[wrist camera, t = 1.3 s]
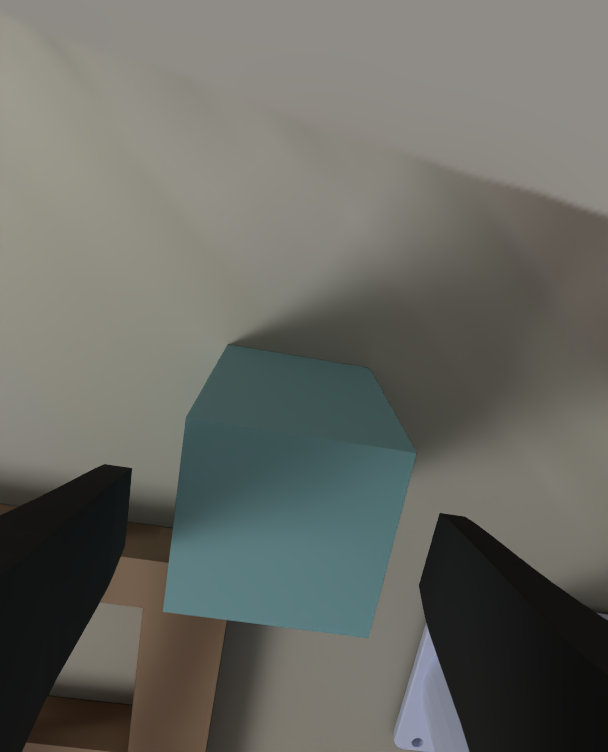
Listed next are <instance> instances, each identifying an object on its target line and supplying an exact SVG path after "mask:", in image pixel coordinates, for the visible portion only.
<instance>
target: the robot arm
mask: <svg viewBox="0 0 608 752" xmlns="http://www.w3.org/2000/svg"><path fill="white" fill-rule="evenodd" d="M131 473H132V468H127V467H120V466H113V465H106V464H104V465H102V466H100V467H97V468H95V469H93V470H91V471H89V472H87V473H85V474H83V475H81V476H80V477H78V478H76V479H74V480H72V481H70V482H68V483H66V484H64V485H62V486H60V487H58V488H56V489H54V490H52V491H50V492H48V493H47V494H45V495H43V496H41V497H39V498H37V499H35V500H32V501H30V502H28V503H26V504H24V505H21V506H19V507H17V508H15V509H13V510H10V511H8V512H6V513H4V514H2V515H0V752H22V751H23V749H24V747H25V744H26V742H27V740H28V738H29V735H30V733H31V731H32V729H33V727H34V724H35V722H36V720H37V718H38V715H39V713H40V711H41V709H42V706H43V704H44V702H45V700H46V698H47V696H48V694H49V692H50V690H51V689H52V687H53V685H54V683H55V681H56V679H57V677H58V675H59V674H60V672H61V670H62V668H63V666H64V665H65V663H66V661H67V659H68V658H69V656H70V654H71V652H72V651H73V649H74V647H75V645H76V644H77V642H78V640H79V638H80V636H81V635H82V633H83V631H84V629H85V628H86V626H87V624H88V622H89V621H90V619H91V617H92V615H93V614H94V612H95V610H96V608H97V606H98V605H99V603H100V601H101V599H102V597H103V596H104V594H105V592H106V590H107V588H108V586H109V584H110V582H111V580H112V577H113V575H114V572H115V570H116V568H117V565H118V563H119V560H120V557H121V555H122V552H123V550H124V547H125V541H126V530H127V519H128V507H129V496H130V485H131ZM419 588H420V593H421V599H422V604H423V609H424V614H425V619H426V625H425V628H424V632H423V635H422V638H421V642H420V645H419V649H418V652H417V655H416V659H415V662H414V665H413V669H412V672H411V675H410V679H409V682H408V685H407V689H406V692H405V696H404V699H403V702H402V706H401V709H400V712H399V716H398V719H397V722H396V726H395V729H394V734H393V736H394V741H395V744H396V746H398V747H399V748H402V749H407V750H416V751H425V752H608V614H600V613H595V612H594V611H592V610H591V609H589V608H588V607H586V606H585V605H583V604H582V603H580V602H579V601H577V600H576V599H575V598H573V597H572V596H570V595H569V594H568V593H566V592H565V591H563V590H562V589H561V588H559V587H558V586H556V585H555V584H554V583H552V582H551V581H549V580H548V579H547V578H545V577H544V576H543V575H541V574H540V573H539V572H537V571H536V570H535V569H534V568H532V567H531V566H530V565H528V564H527V563H526V562H524V561H523V560H522V559H521V558H519V557H518V556H517V555H515V554H514V553H513V552H512V551H510V550H509V549H508V548H507V547H505V546H504V545H503V544H502V543H500V542H499V541H498V540H496V539H495V538H494V537H493V536H491V535H490V534H489V533H487V532H486V531H485V530H483V529H482V528H481V527H479V526H478V525H477V524H475V523H474V522H472V521H471V520H469V519H468V518H466V517H463V516H456V515H449V514H442V513H440V514H439V518H438V521H437V524H436V528H435V531H434V535H433V538H432V542H431V545H430V549H429V552H428V556H427V559H426V563H425V566H424V570H423V573H422V577H421V580H420V584H419Z"/></svg>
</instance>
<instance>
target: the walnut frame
mask: <svg viewBox="0 0 608 752" xmlns="http://www.w3.org/2000/svg"><path fill="white" fill-rule="evenodd" d="M15 508H17V507H16V506H9V505H2V504H0V515H2V514H4V513H6V512H8V511H10V510H13V509H15ZM172 531H173V528H166V527H159V526H152V525H145V524H138V523H131V522H127V530H126V541H125V547H124V550H123V552H122V555H121V557H120V560H119V563H118V565H117V568H116V570H115V572H114V575H113V577H112V580H111V582H110V584H109V586H108V588H107V590H106V592H105V594H104V596H103V597H102V599H101V601H100V602H102V603H109V604H117V605H125V606H133V607H141V608H143V612H142V622H141V631H140V641H139V650H138V660H137V669H136V679H135V688H134V698H133V706H131V705H122V704H113V703H105V702H96V701H87V700H79V699H70V698H61V697H52V696H47V698H46V700H45V702H44V704H43V706H42V709H41V711H40V713H39V715H38V718H37V720H36V722H35V724H34V727H33V729H32V731H31V733H30V735H29V738H28V740H27V742H26V744H25V747H24V749H23V751H22V752H206V747H207V740H208V734H209V728H210V722H211V716H212V710H213V704H214V697H215V691H216V685H217V679H218V673H219V667H220V661H221V654H222V648H223V642H224V636H225V630H226V624H227V620H223V619H215V618H207V617H200V616H192V615H184V614H176V613H168V612H163V607H164V598H165V590H166V582H167V573H168V565H169V556H170V548H171V539H172Z"/></svg>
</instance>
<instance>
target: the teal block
mask: <svg viewBox="0 0 608 752" xmlns="http://www.w3.org/2000/svg"><path fill="white" fill-rule="evenodd" d="M416 454H417V453H416V451H415V449H414V447H413V446H412V444H411V442H410V440H409V438H408V437H407V435H406V433H405V431H404V429H403V428H402V426H401V424H400V422H399V421H398V419H397V417H396V415H395V413H394V412H393V410H392V408H391V406H390V404H389V403H388V401H387V399H386V397H385V395H384V394H383V392H382V390H381V388H380V386H379V385H378V383H377V381H376V379H375V377H374V376H373V374H372V372H371V370H370V369H369V368H366V367H360V366H354V365H348V364H342V363H336V362H330V361H324V360H318V359H312V358H306V357H300V356H294V355H288V354H282V353H276V352H270V351H264V350H258V349H252V348H246V347H240V346H234V345H227V347H226V348H225V350H224V352H223V354H222V355H221V357H220V359H219V361H218V362H217V364H216V366H215V368H214V369H213V371H212V373H211V375H210V376H209V378H208V380H207V382H206V383H205V385H204V387H203V389H202V390H201V392H200V394H199V396H198V397H197V399H196V401H195V403H194V404H193V406H192V408H191V409H190V411H189V413H188V415H187V416H186V422H185V430H184V439H183V447H182V455H181V464H180V472H179V481H178V489H177V497H176V506H175V514H174V523H173V531H172V539H171V548H170V556H169V565H168V573H167V582H166V590H165V598H164V607H163V612H168V613H176V614H184V615H192V616H200V617H207V618H215V619H223V620H231V621H239V622H246V623H254V624H262V625H270V626H278V627H285V628H293V629H301V630H309V631H317V632H324V633H332V634H340V635H348V636H356V637H363V638H369V634H370V630H371V626H372V622H373V618H374V615H375V611H376V607H377V603H378V599H379V596H380V592H381V588H382V584H383V580H384V576H385V573H386V569H387V565H388V561H389V557H390V553H391V550H392V546H393V542H394V538H395V534H396V531H397V527H398V523H399V519H400V515H401V511H402V508H403V504H404V500H405V496H406V492H407V488H408V485H409V481H410V477H411V473H412V469H413V466H414V462H415V458H416Z"/></svg>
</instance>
